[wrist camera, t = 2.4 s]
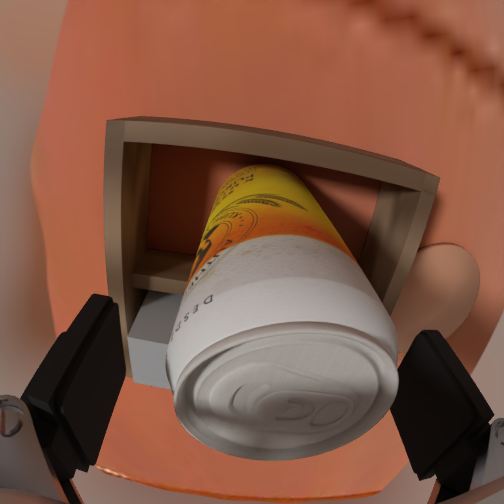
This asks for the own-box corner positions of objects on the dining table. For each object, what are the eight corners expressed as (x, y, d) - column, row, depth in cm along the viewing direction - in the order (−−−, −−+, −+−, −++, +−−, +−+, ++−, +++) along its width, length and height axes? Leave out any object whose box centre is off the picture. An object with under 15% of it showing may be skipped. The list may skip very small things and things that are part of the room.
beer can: (233, 147, 18) (188, 267, 5) (324, 181, 19) (460, 343, 6) (204, 234, 21) (144, 442, 7) (288, 262, 22) (332, 470, 8)
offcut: (156, 274, 22) (127, 336, 16) (231, 284, 22) (225, 352, 16) (157, 316, 24) (133, 382, 17) (225, 327, 24) (219, 396, 18)
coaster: (399, 232, 21) (402, 235, 20) (492, 252, 22) (496, 255, 21) (353, 347, 25) (355, 352, 25) (445, 348, 26) (447, 352, 26)
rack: (140, 116, 17) (106, 120, 13) (400, 160, 18) (440, 178, 14) (138, 332, 24) (120, 375, 20) (334, 355, 26) (347, 398, 21)
